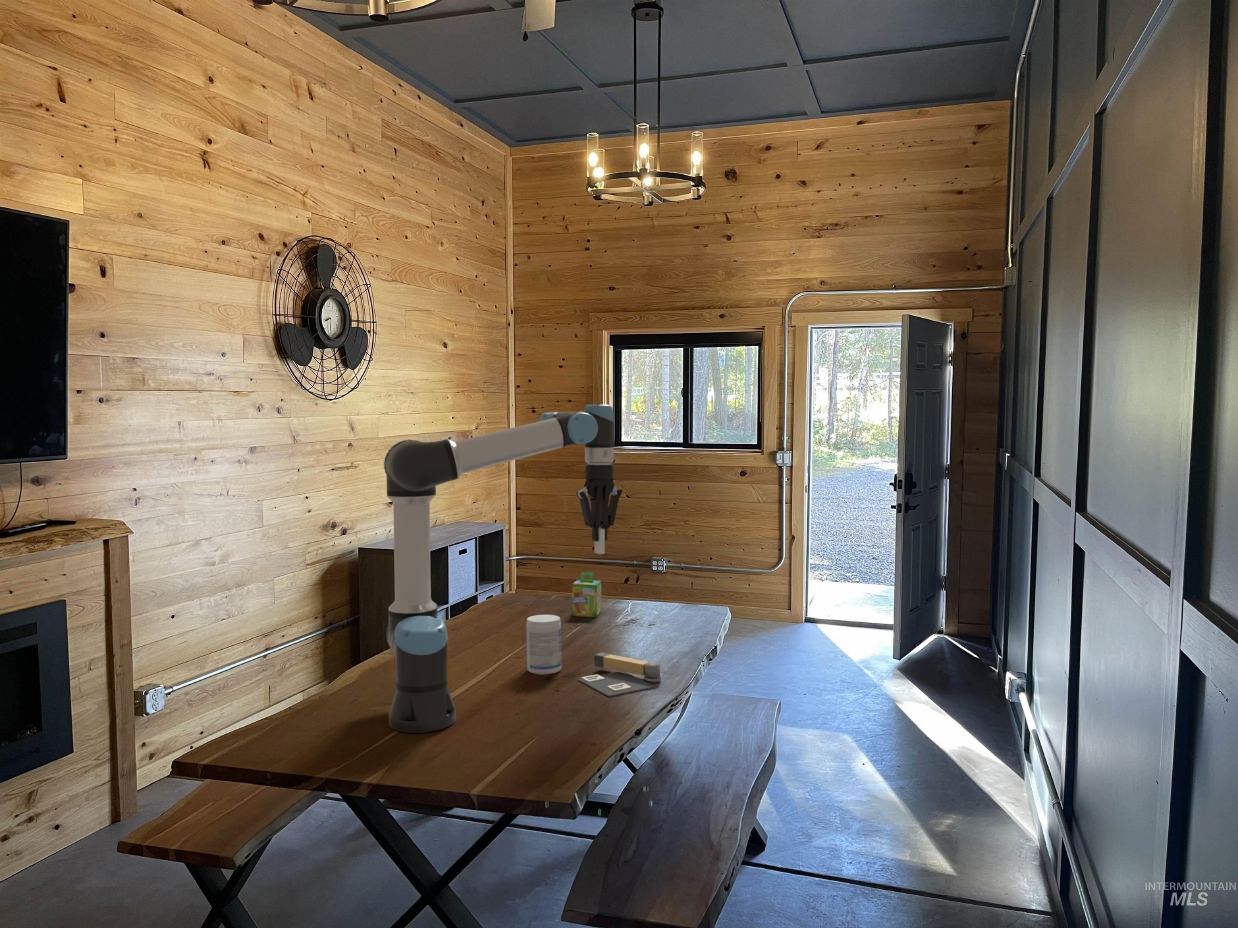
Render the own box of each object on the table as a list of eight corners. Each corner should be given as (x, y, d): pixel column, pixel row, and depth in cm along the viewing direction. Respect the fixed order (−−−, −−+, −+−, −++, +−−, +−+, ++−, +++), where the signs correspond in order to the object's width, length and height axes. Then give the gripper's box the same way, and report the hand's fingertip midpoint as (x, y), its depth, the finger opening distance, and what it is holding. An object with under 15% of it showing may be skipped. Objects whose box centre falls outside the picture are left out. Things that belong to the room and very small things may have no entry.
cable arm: (593, 666, 240) (593, 654, 240) (602, 662, 243) (602, 651, 243) (654, 679, 229) (654, 667, 228) (662, 675, 232) (662, 663, 232)
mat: (608, 697, 219) (608, 695, 219) (578, 680, 232) (578, 678, 232) (655, 687, 226) (655, 686, 226) (622, 672, 239) (622, 670, 239)
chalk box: (571, 616, 304) (570, 574, 303) (576, 610, 313) (576, 570, 312) (596, 617, 303) (596, 575, 302) (601, 611, 312) (601, 570, 311)
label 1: (588, 683, 229) (588, 680, 229) (581, 679, 233) (581, 676, 233) (604, 680, 232) (604, 677, 232) (597, 676, 235) (597, 673, 235)
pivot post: (650, 684, 228) (650, 680, 228) (640, 680, 232) (640, 675, 232) (663, 681, 231) (663, 677, 231) (654, 677, 234) (654, 673, 234)
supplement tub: (567, 671, 240) (567, 619, 239) (537, 677, 235) (536, 623, 234) (550, 663, 248) (550, 612, 247) (520, 668, 243) (520, 616, 242)
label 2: (614, 692, 222) (614, 689, 222) (606, 688, 225) (606, 685, 225) (631, 689, 224) (631, 686, 224) (623, 685, 228) (623, 682, 228)
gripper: (584, 465, 221) (585, 557, 222) (628, 463, 228) (628, 552, 229) (570, 463, 227) (571, 553, 229) (613, 462, 234) (613, 549, 236)
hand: (599, 553), depth 229 cm, fingers closed
